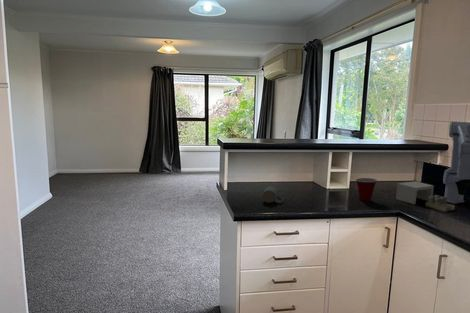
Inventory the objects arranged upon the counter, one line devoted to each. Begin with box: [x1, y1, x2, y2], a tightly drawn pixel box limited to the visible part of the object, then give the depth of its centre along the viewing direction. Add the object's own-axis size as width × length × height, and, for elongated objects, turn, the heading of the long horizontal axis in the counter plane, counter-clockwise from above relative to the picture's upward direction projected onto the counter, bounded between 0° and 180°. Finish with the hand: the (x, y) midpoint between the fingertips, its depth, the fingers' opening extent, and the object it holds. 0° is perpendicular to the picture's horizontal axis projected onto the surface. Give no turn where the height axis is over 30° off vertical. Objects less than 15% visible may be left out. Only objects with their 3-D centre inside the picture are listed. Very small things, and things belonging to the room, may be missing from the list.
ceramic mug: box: [262, 185, 284, 204], centre depth 170 cm, size 11×8×8 cm
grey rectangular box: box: [395, 181, 435, 205], centre depth 178 cm, size 15×11×9 cm
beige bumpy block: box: [425, 194, 456, 212], centre depth 166 cm, size 8×10×6 cm
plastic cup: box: [355, 177, 378, 203], centre depth 176 cm, size 11×11×12 cm
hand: (461, 194), depth 156 cm, fingers closed
